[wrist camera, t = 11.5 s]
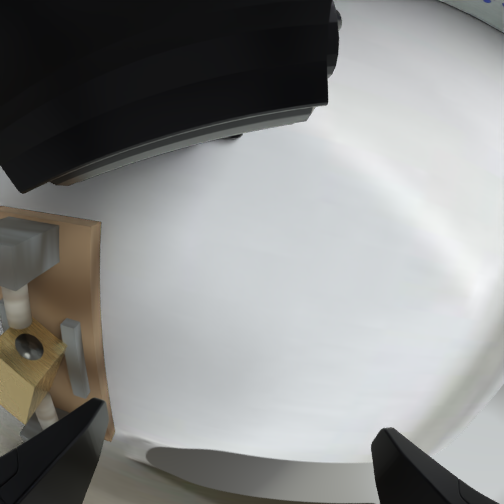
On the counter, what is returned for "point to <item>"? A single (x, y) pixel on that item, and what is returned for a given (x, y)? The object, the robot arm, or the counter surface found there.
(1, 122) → the robot arm
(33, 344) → the block
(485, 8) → the soda pack
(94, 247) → the shaft stand
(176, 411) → the counter surface
